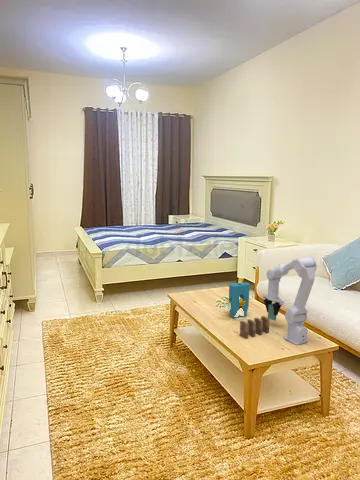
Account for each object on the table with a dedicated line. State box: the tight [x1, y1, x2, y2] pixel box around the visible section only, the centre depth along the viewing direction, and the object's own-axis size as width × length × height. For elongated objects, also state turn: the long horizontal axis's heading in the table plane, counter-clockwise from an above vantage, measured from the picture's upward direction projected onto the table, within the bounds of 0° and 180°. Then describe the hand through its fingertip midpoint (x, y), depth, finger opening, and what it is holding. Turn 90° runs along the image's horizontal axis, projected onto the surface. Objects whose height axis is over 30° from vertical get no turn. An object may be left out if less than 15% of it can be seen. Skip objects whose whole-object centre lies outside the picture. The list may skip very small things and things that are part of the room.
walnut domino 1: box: [239, 320, 249, 340], centre depth 191 cm, size 5×2×8 cm, turn 29°
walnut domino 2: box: [246, 318, 257, 338], centre depth 194 cm, size 5×2×8 cm, turn 29°
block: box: [228, 282, 251, 320], centre depth 220 cm, size 12×5×20 cm, turn 115°
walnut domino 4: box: [260, 315, 271, 335], centre depth 198 cm, size 5×2×8 cm, turn 29°
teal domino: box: [267, 303, 277, 322], centre depth 205 cm, size 5×2×8 cm, turn 29°
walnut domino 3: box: [253, 317, 264, 336], centre depth 196 cm, size 5×2×8 cm, turn 29°
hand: (272, 313), depth 205 cm, fingers closed on teal domino, 5 cm apart
